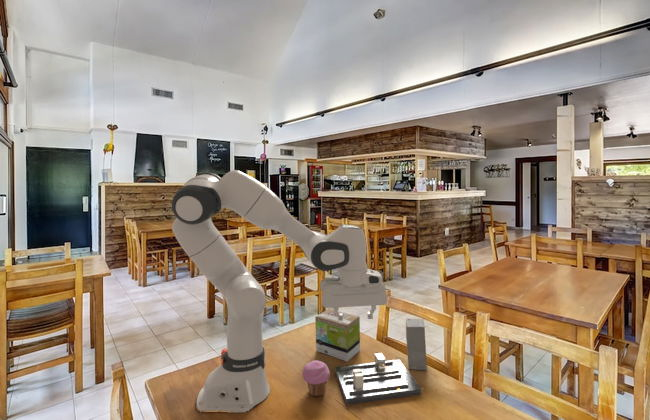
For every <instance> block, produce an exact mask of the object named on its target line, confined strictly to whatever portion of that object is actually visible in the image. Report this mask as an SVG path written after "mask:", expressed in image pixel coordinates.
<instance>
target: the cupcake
mask: <svg viewBox="0 0 650 420" xmlns="http://www.w3.org/2000/svg"><path fill="white" fill-rule="evenodd" d="M330 375H331V372H330V368H329V367H328V365H327V364H326V363H325V362H323V361H321V360H316V359H315V360H312V361H310V362H307V363H306V364H305V365H304V367H303V370H302V378H303V380H304V381H305V383H307V388H308V391H309V394H310V395H311V396H313V397H315V396H316V397H317V396H323V395H325V394H326V387H327V383H328V381H329V379H330Z"/></svg>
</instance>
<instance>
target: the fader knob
mask: <svg viewBox="0 0 650 420" xmlns="http://www.w3.org/2000/svg"><path fill="white" fill-rule="evenodd" d="M353 384H354V386H355V389H356V390H358V389H364V383H363V374H362V371H361V370H360V369H353Z"/></svg>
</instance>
